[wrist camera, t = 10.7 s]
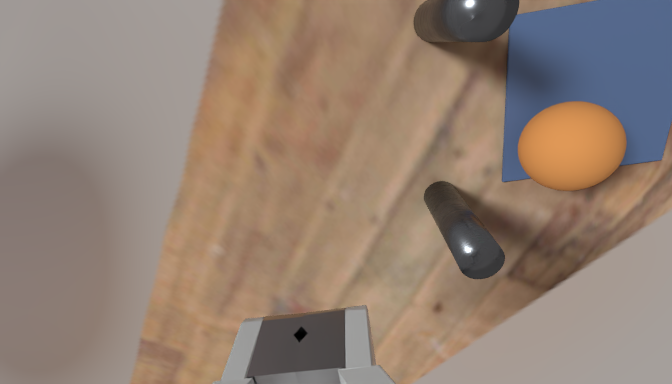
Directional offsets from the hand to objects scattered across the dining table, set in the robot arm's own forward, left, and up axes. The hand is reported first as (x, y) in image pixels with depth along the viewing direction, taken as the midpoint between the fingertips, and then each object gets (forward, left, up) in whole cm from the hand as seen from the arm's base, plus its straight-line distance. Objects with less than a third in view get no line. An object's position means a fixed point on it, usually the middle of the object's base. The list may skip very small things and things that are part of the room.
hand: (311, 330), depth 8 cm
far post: (-6, -8, -19) cm, 22 cm away
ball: (-3, -16, -16) cm, 23 cm away
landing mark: (0, -19, -19) cm, 27 cm away
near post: (+7, -8, -19) cm, 22 cm away
